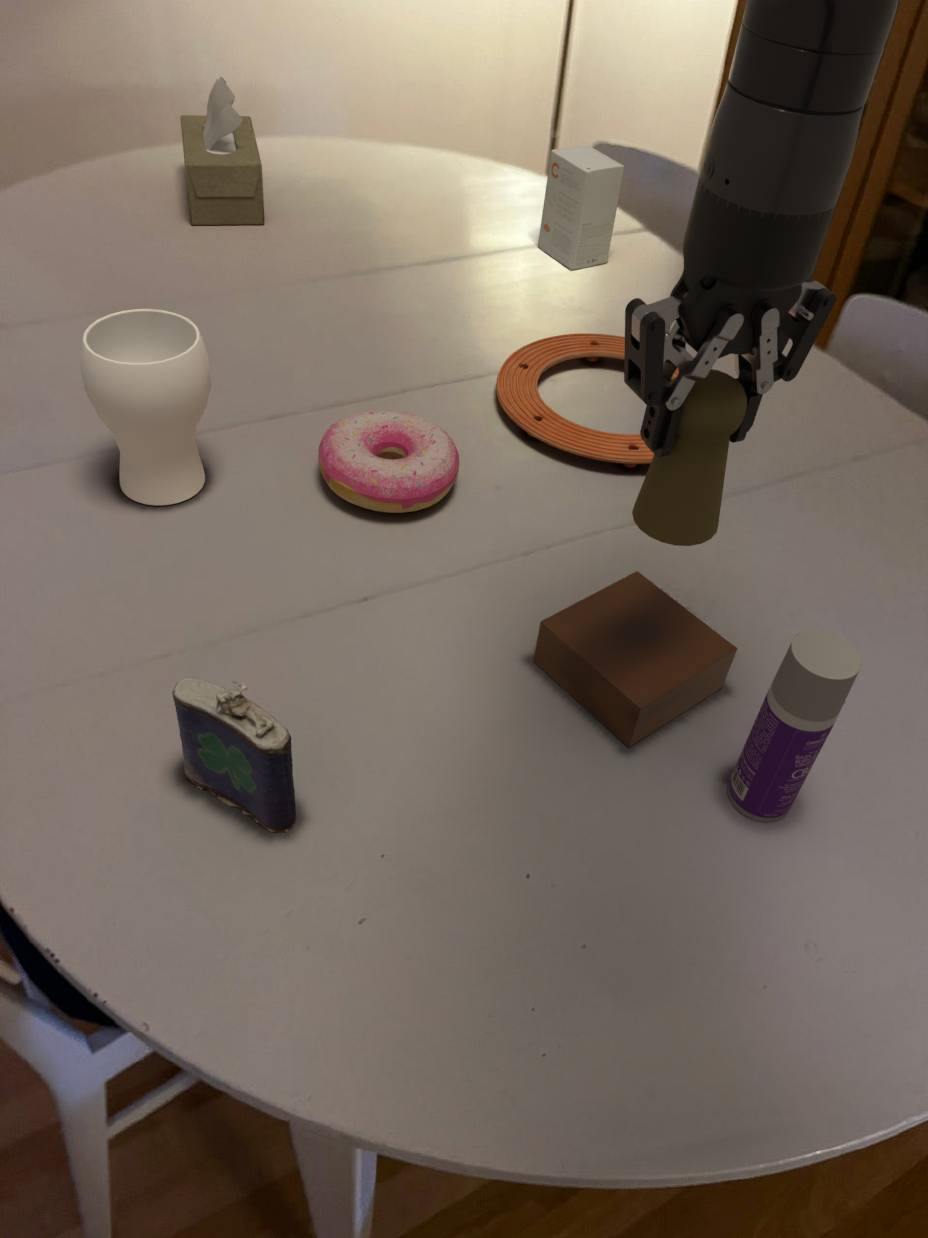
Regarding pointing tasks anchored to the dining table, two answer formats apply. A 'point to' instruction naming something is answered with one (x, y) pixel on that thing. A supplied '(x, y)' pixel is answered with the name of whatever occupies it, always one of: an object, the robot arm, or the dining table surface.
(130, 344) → the cup
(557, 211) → the small box
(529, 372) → the ring
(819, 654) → the container
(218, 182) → the tissue box
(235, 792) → the flask
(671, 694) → the walnut block
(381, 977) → the dining table surface
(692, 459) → the olive pawn
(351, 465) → the donut
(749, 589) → the dining table surface
